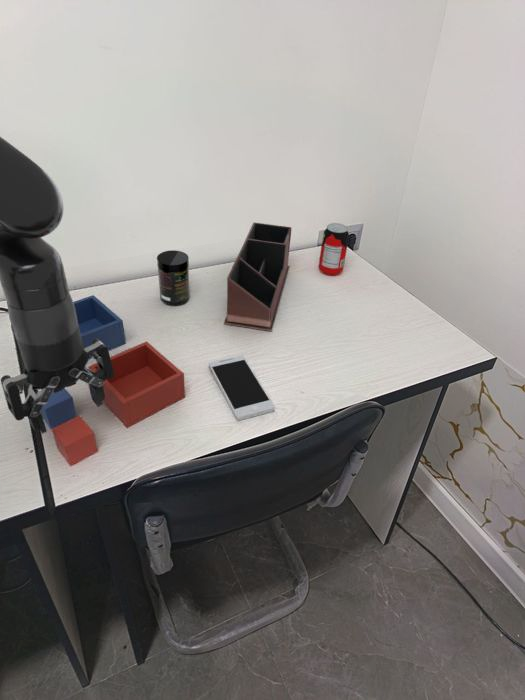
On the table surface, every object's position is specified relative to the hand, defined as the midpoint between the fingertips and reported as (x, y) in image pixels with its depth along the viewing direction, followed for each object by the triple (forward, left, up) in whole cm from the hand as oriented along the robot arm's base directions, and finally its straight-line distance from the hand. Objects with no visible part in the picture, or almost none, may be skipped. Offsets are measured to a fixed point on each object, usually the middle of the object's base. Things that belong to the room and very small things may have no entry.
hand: (70, 415), depth 72 cm
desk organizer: (+54, +17, -8) cm, 57 cm away
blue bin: (+14, +25, -8) cm, 30 cm away
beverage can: (+76, +14, -8) cm, 78 cm away
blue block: (+1, +9, -8) cm, 12 cm away
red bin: (+14, +5, -8) cm, 17 cm away
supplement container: (+37, +27, -8) cm, 46 cm away
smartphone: (+29, -5, -8) cm, 30 cm away
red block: (0, 0, -8) cm, 8 cm away
